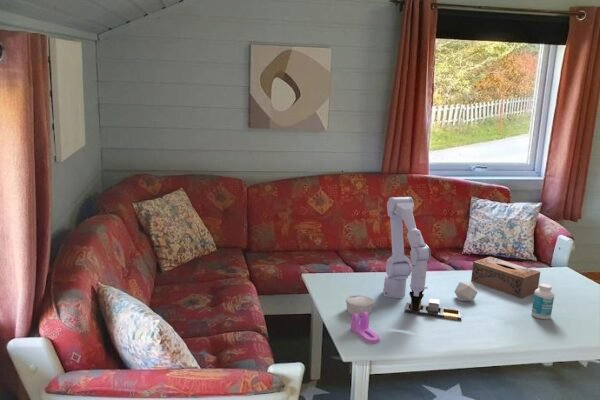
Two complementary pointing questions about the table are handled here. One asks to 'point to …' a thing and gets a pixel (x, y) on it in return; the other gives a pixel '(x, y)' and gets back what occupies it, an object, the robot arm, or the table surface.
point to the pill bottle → (543, 301)
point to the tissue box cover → (505, 277)
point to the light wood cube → (415, 309)
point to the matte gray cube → (433, 305)
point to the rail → (442, 313)
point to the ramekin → (359, 304)
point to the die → (465, 291)
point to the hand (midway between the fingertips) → (415, 306)
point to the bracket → (363, 327)
